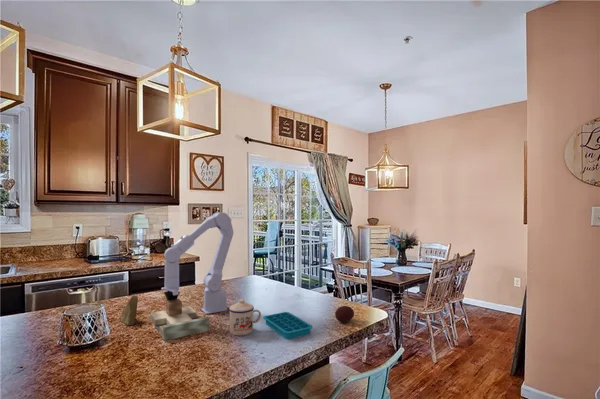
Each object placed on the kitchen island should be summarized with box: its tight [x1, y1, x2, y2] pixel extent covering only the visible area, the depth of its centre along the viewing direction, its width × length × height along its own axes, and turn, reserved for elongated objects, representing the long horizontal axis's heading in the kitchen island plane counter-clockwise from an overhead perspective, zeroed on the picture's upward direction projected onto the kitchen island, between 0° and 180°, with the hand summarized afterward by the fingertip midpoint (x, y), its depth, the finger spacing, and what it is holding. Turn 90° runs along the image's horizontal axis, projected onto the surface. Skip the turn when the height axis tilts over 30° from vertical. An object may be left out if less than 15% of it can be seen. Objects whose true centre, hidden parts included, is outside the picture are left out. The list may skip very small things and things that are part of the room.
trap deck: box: [149, 305, 210, 341], centre depth 127 cm, size 16×26×4 cm, turn 35°
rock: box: [120, 294, 139, 326], centre depth 130 cm, size 11×9×10 cm
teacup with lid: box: [228, 298, 262, 336], centre depth 121 cm, size 12×9×12 cm
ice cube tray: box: [262, 311, 313, 340], centre depth 123 cm, size 12×20×3 cm, turn 31°
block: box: [165, 298, 183, 316], centre depth 133 cm, size 5×5×5 cm
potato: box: [334, 305, 355, 323], centre depth 130 cm, size 8×9×6 cm
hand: (171, 308), depth 136 cm, fingers closed
